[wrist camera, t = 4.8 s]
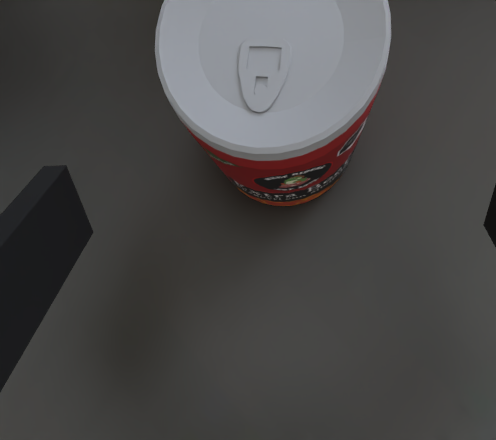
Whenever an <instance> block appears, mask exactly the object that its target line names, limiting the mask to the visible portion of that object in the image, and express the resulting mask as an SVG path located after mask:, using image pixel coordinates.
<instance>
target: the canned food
mask: <svg viewBox="0 0 496 440" xmlns="http://www.w3.org/2000/svg"><path fill="white" fill-rule="evenodd" d="M390 41H391V14H390V9H389V5H388V1H387V0H164V3H163V5H162V7H161V11H160V15H159V19H158V23H157V27H156V38H155V56H156V63H157V70H158V75H159V78H160V80H161V83H162V86H163V89H164V92H165V94H166V96H167V97H168V100H169V102H170V104H171V106H172V107H173V109H174V111H175V112H176V114H177V116H178V117H179V119H180V120H181V122H182V123H183V124H184V125H185V126H186V128H187V129H188V131H189V132H190V133H191V135H192V136H193V137H194V138H195V139H196V141H197V142H198V143H199V144H200V145H201V146H202V148H203V149H204V150H205V151H206V152H207V154H208V155H209V156H210V157H211V158H212V160H213V161H214V162H215V163H216V164H217V165H218V167H219V168H220V169H221V170H222V171H223V173H224V174H225V175H226V176H227V177H228V178H229V180H230V181H231V182H232V183H233V184H234V185H235V186H236V187H237V188H238V189H239V190H240V191H241V192H243V193H244V194H246V195H247V196H248V197H250V198H252V199H254V200H257V201H259V202H261V203H265V204H270V205H275V206H292V205H297V204H301V203H305V202H308V201H310V200H312V199H314V198H317V197H319V196H320V195H321V194H323V193H324V192H326V191H327V190H329V189H330V188H331V187H332V186H333V185H334V184H335V183H336V182H337V181H338V180H339V179H340V177H341V176H342V174H343V173H344V171H345V169H346V168H347V166H348V164H349V161H350V159H351V157H352V154H353V152H354V149H355V147H356V144H357V142H358V139H359V137H360V134H361V132H362V129H363V127H364V125H365V122H366V120H367V117H368V115H369V112H370V110H371V107H372V105H373V102H374V100H375V97H376V95H377V93H378V90H379V88H380V84H381V81H382V78H383V76H384V73H385V70H386V65H387V60H388V54H389V49H390Z"/></svg>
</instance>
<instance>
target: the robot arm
mask: <svg viewBox="0 0 496 440" xmlns="http://www.w3.org/2000/svg"><path fill="white" fill-rule="evenodd" d="M484 227H485V229H486V230H487V232H488V234H489V236H490V238H491V240H492V242H493V243H494V245H495V247H496V185H495V188H494V192H493V195H492V198H491V202H490V205H489V208H488V212H487V215H486V218H485V222H484ZM92 234H93V230H92V228H91V225H90V223H89V220H88V218H87V215H86V213H85V210H84V208H83V206H82V203H81V201H80V198H79V196H78V193H77V191H76V188H75V186H74V184H73V181H72V179H71V176H70V174H69V171H68V169H67V166H66V165H65V166H44V167H43V168H42V169H41V170H40V171H39V172H38V173H37V175H36V176H35V177H34V178H33V179H32V180H31V181H30V182H29V184H28V185H27V186H26V187H25V188H24V189H23V190H22V191H21V193H20V194H19V195H18V196H17V197H16V198H15V199H14V200H13V202H12V203H11V204H10V205H9V206H8V207H7V208H6V209H5V211H4V212H3V213H2V214H1V215H0V392H1V390H2V388H3V387H4V385H5V383H6V381H7V380H8V378H9V376H10V374H11V373H12V371H13V369H14V368H15V366H16V364H17V362H18V361H19V359H20V357H21V356H22V354H23V352H24V350H25V349H26V347H27V345H28V344H29V342H30V340H31V338H32V337H33V335H34V333H35V332H36V330H37V328H38V326H39V325H40V323H41V321H42V320H43V318H44V316H45V314H46V313H47V311H48V309H49V307H50V306H51V304H52V302H53V301H54V299H55V297H56V295H57V294H58V292H59V290H60V289H61V287H62V285H63V283H64V282H65V280H66V278H67V277H68V275H69V273H70V271H71V270H72V268H73V266H74V265H75V263H76V261H77V259H78V258H79V256H80V254H81V253H82V251H83V249H84V247H85V246H86V244H87V242H88V240H89V239H90V237H91V235H92Z"/></svg>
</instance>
